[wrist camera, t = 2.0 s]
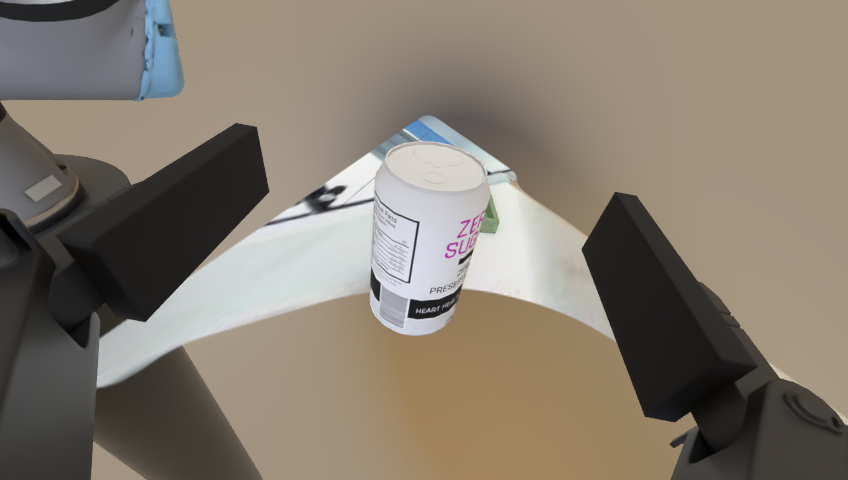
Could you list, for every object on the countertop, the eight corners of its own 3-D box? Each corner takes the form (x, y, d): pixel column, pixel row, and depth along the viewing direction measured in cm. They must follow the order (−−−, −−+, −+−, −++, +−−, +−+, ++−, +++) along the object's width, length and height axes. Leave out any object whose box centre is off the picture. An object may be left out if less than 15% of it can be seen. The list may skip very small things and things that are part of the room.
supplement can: (379, 266, 35) (389, 130, 26) (456, 280, 35) (494, 149, 25) (359, 330, 29) (361, 182, 19) (451, 348, 29) (499, 207, 19)
